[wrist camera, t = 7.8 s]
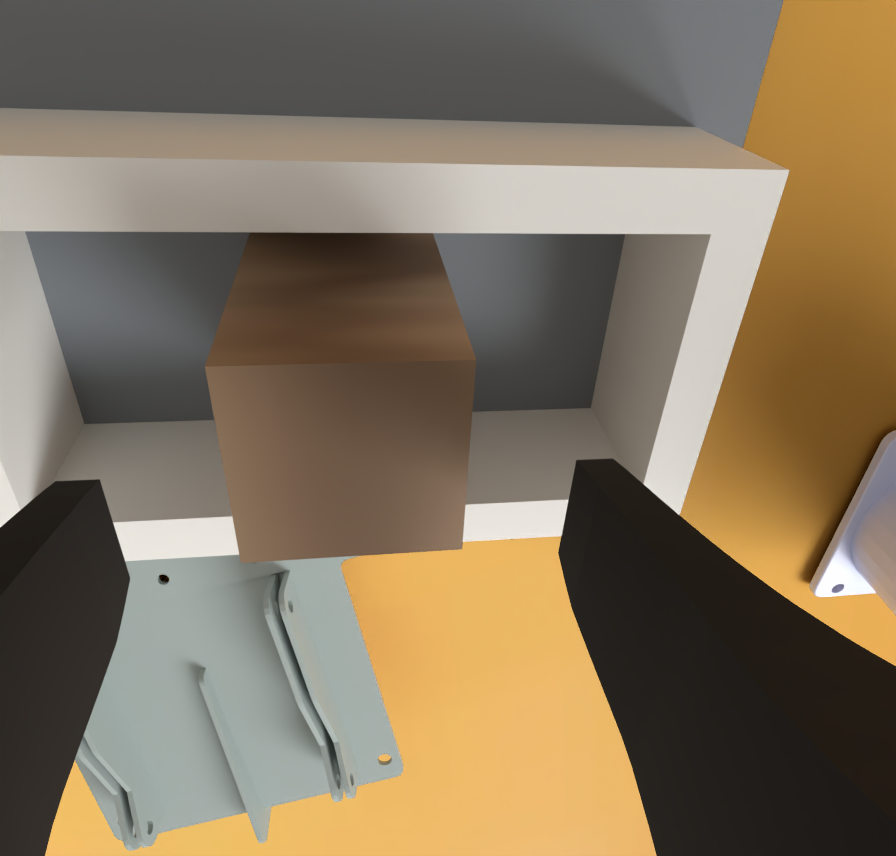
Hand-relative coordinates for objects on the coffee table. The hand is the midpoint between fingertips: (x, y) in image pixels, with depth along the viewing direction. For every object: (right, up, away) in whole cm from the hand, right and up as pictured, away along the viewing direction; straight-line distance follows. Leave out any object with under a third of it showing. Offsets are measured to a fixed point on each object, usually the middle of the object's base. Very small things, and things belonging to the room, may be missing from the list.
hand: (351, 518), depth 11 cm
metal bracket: (-7, -6, +15) cm, 17 cm away
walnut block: (-1, +5, +6) cm, 8 cm away
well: (-1, +5, +7) cm, 9 cm away
